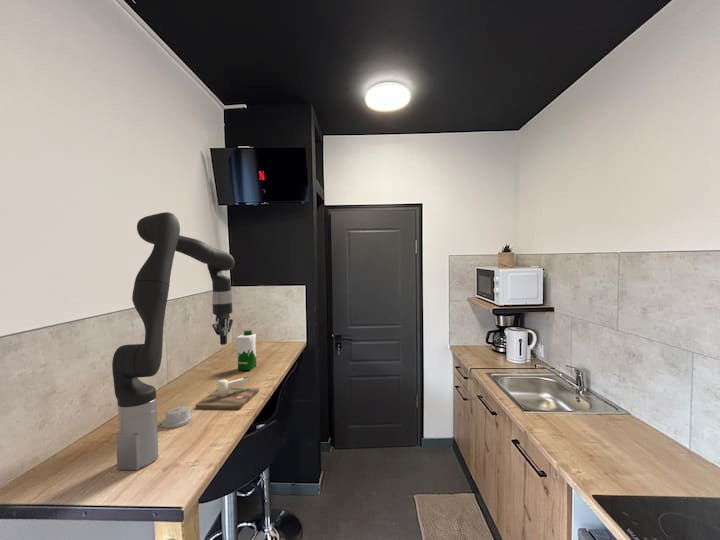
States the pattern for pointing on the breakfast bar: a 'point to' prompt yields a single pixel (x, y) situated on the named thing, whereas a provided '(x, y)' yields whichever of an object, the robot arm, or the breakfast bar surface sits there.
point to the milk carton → (246, 350)
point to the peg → (229, 385)
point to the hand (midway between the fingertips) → (223, 344)
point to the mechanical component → (177, 417)
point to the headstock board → (228, 399)
